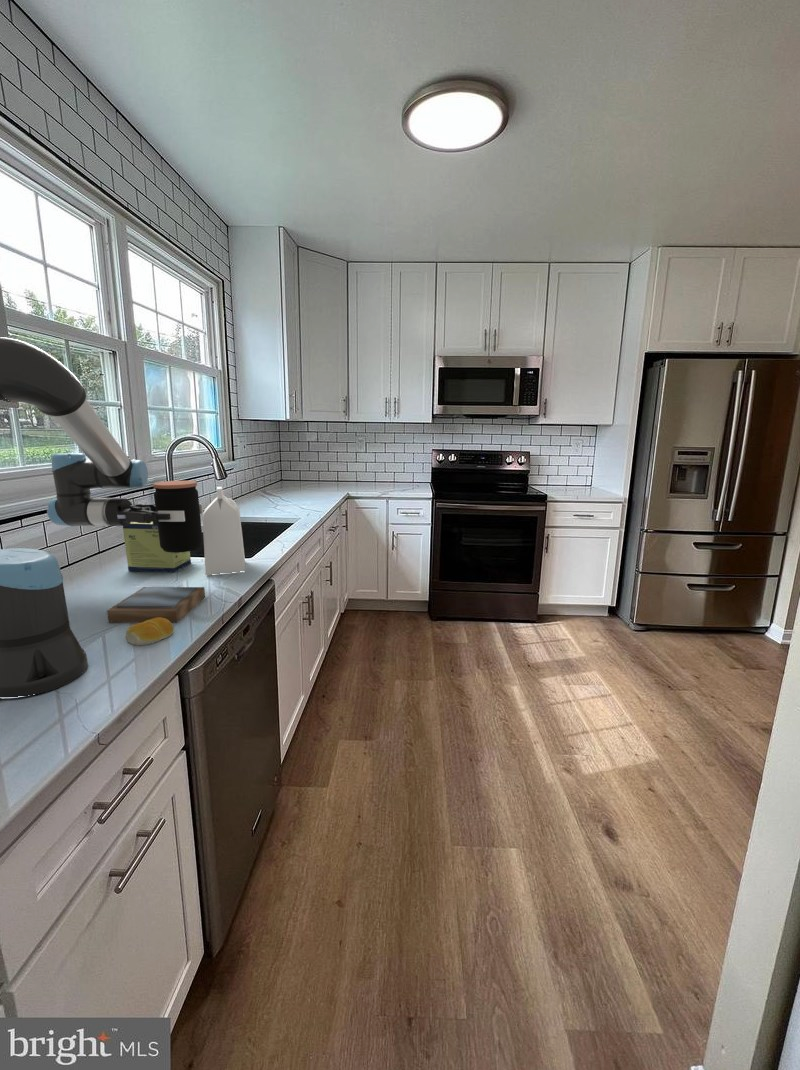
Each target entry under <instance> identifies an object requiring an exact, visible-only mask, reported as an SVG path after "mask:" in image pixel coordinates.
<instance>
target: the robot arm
mask: <svg viewBox="0 0 800 1070" xmlns="http://www.w3.org/2000/svg"><path fill="white" fill-rule="evenodd" d="M87 393H88V392H87V391H86V388H85V387H84V386H83V384H82V383H81V382H80V380H79V379H78V377H77V376H76V375H75V374H74V373H73V372H72V371H70V369H68V368H67V367H66V366H65V365H64V364H63V363H62V362H61V361H59V360H57V359H56V358H55V357H54V356H52V355H50V354H49V353H47V352H46V351H44V350H43V349H41V348H39V347H37V346H36V345H33V344H30V343H28V342H26V341H22V340H19V339H16V338H12V337H11V338H10V337H3V336H2V337H0V400H3V401H6V402H5V403H23V404H24V403H25V404H28V405H33V407H34V406H35V408H36V409H37V410H38V411H39V412H41V413H42V415H46V416H48V417H51V418H52V419H53V420H54V421H55V422H56V424H58V425H59V427H60V428H61V429H62V430H63V431H64V432H65V433H66V434H67V436H68V437H70V439H71V440H72V441H73V443H75V445H76V446H77V447H78V448H79V449H80V451H82V452H83V453H82V452H60V453H59V452H58V453H54V454H52V455H51V469H52V470H51V473H52V476H53V481H54V487H55V492H56V497H55V498H52V499H51V500H50V501H49V502H48V505H47V507H48V508H47V509H46V513H47V517H48V519H49V520H50V521H51V522H52V523H53V524H55V525H58V526H67V527H68V526H69V527H82V526H83V527H84V526H85V527H87V526H89V527H95V526H96V527H97V526H98V527H99V526H101V528H102V529H106V527H109V526H112V527H113V526H114V527H123V526H127V525H129V524H130V523H131V522H139V523H151V522H153V525H157V524H158V521H157V520H159V522H184V521H185V514H184V511H158V514H157V512H156V507H155V503H135V504H132V502H131V501H130V500H129V499H128V498H124V497H92V496H91V494H92V493H91V490H92V489H95V490H96V489H130V490H131V489H138V488H144V487H145V486H146V485H147V484H148V481H149V480H148V479H149V472H148V467H147V465H146V463H145V461H143V460H141V459H134V458H133V459H130V457H129V456H128V455H127V453H126V452H125V451H124V449H123V448H122V446H121V445H120V444H119V442H118V441H117V440H116V438H115V437H114V436H113V435H112V433H111V431H110V429H108V428H107V426H106V425H105V423H104V422H103V420H102V419H101V418H100V416H99V415H98V414H97V412H96V411H95V409H94V408H93V407H92V405H91V404H90V402H88V401H89V400H88V399H87V395H88V394H87ZM5 398H6V399H5ZM8 400H9V401H8ZM11 401H12V402H11ZM86 457H87V458H86ZM199 507H200V515H203V513H204V505H203V503H199ZM66 599H67V598H66V592H65V587H64V576H63V574H62V571H61V567H60V564H59V560H58V559H57V557H56V556H54V555H53V554H52V553H51V552H48V551H45V550H42V549H37V548H28V547H27V548H26V547H25V548H24V547H23V548H22V547H21V548H19V547H13V548H12V547H11V548H5V549H2V548H0V697H18V696H28V695H33V694H38V695H40V694H39V693H42V694H44V693H43V692H45V693H48V692H50V691H53V690H57V689H58V688H60V687H63V686H66V685H68V684H69V683H72V682H73V681H75V680H77V679H78V678H79V677H80V676H81V674H82V673H83V674H84V673H85V672H86V670H87V669H88V666H89V663H88V658H87V652H86V651H85V650H84V648H83V647H82V645H81V644H80V642H79V641H78V638H77V637H76V635H75V634H74V632H73V630H72V628H71V624H70V618H69V612H68V606H67V601H66ZM84 671H85V672H84ZM83 674H82V675H83ZM77 677H78V678H77Z"/></svg>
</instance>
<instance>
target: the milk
mask: <svg viewBox="0 0 800 1070" xmlns="http://www.w3.org/2000/svg"><path fill="white" fill-rule="evenodd" d="M241 521H242V520H241V511H240V507H239V505H237V502H235V500H233V498H230V497H227V496H226V495H224V491H223V486H217V487H216V497H215V498H214V499H213V500H212V502H210V503H209V504H208V505H207V507H206V508H205V509H203V514H202V537H203V550H204V551H203V552H204V570H205V572H204V573H205V574H204V575H205V576H206V575H212V574H220V573H232V572H240V571H245V572H246V559H245V557H246V556H245V547H244V538H243V530H242V529H243V528H242V522H241ZM212 576H213V575H212Z"/></svg>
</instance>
